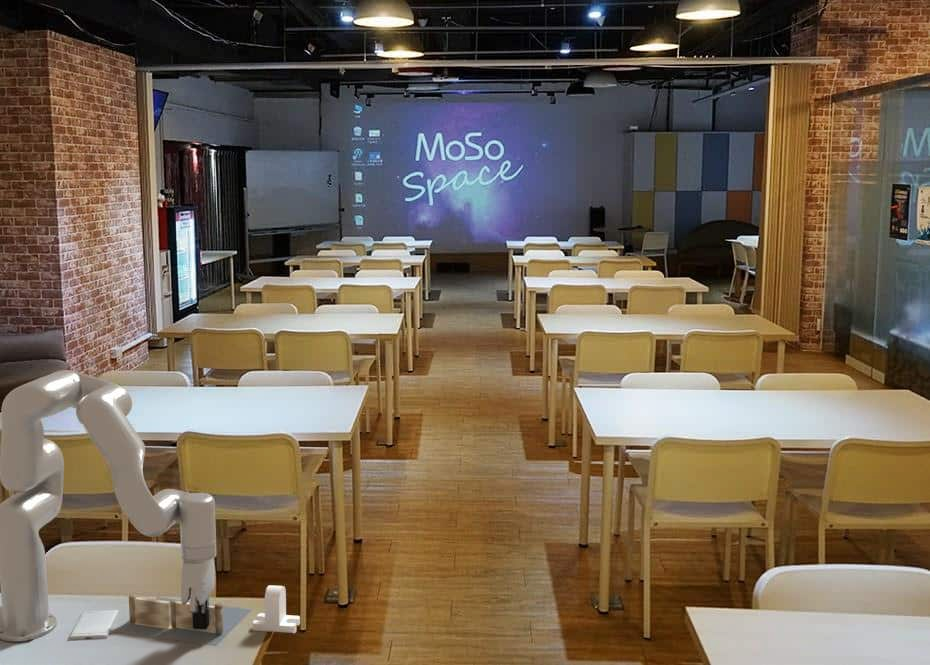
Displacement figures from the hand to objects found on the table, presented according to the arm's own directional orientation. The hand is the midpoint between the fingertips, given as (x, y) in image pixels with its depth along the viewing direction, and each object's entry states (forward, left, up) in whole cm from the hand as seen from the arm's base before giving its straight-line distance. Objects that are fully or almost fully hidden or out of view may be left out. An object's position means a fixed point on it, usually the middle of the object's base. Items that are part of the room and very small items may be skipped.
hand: (201, 627), depth 215 cm
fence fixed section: (-15, +3, -3) cm, 15 cm away
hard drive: (-27, -1, -4) cm, 27 cm away
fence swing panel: (-3, +3, -2) cm, 5 cm away
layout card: (-8, +7, -3) cm, 11 cm away
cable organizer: (+13, +10, -3) cm, 17 cm away
